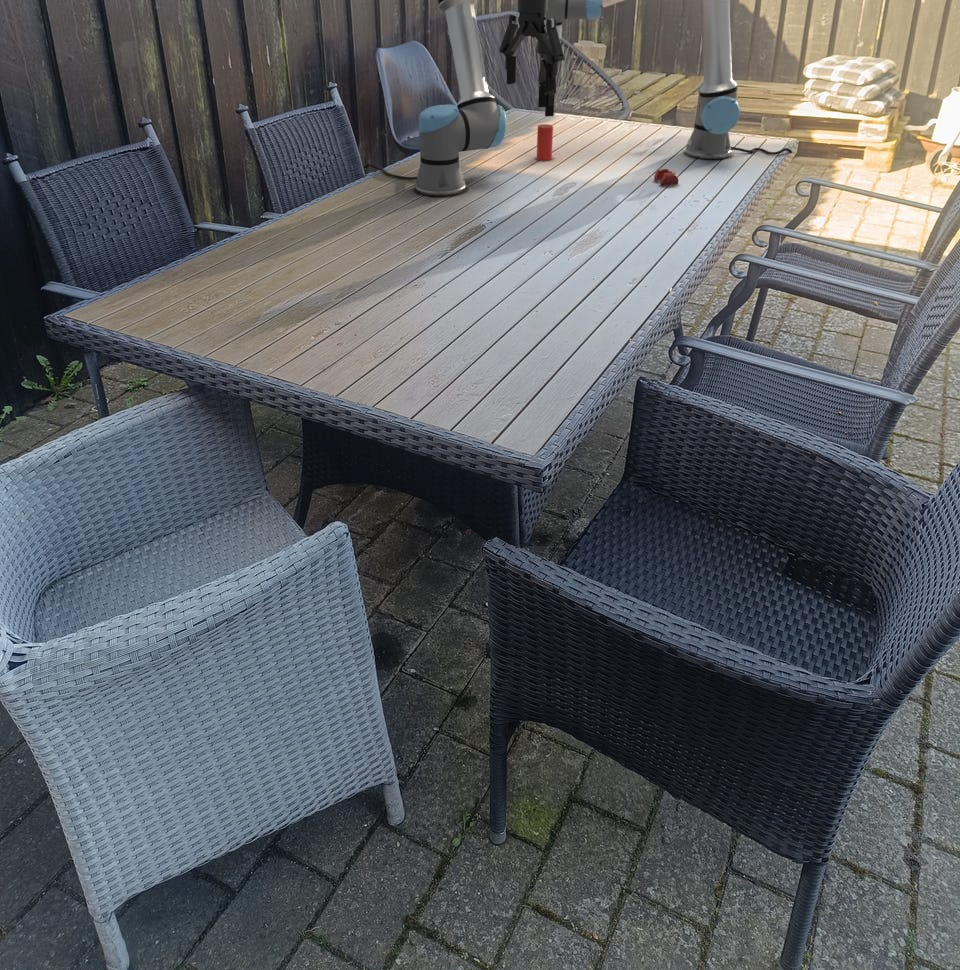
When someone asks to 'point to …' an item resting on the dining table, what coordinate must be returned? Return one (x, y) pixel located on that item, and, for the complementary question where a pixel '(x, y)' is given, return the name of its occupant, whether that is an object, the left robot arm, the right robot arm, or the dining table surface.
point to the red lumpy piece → (666, 177)
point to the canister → (544, 142)
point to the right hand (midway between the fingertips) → (545, 111)
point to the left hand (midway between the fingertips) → (530, 87)
